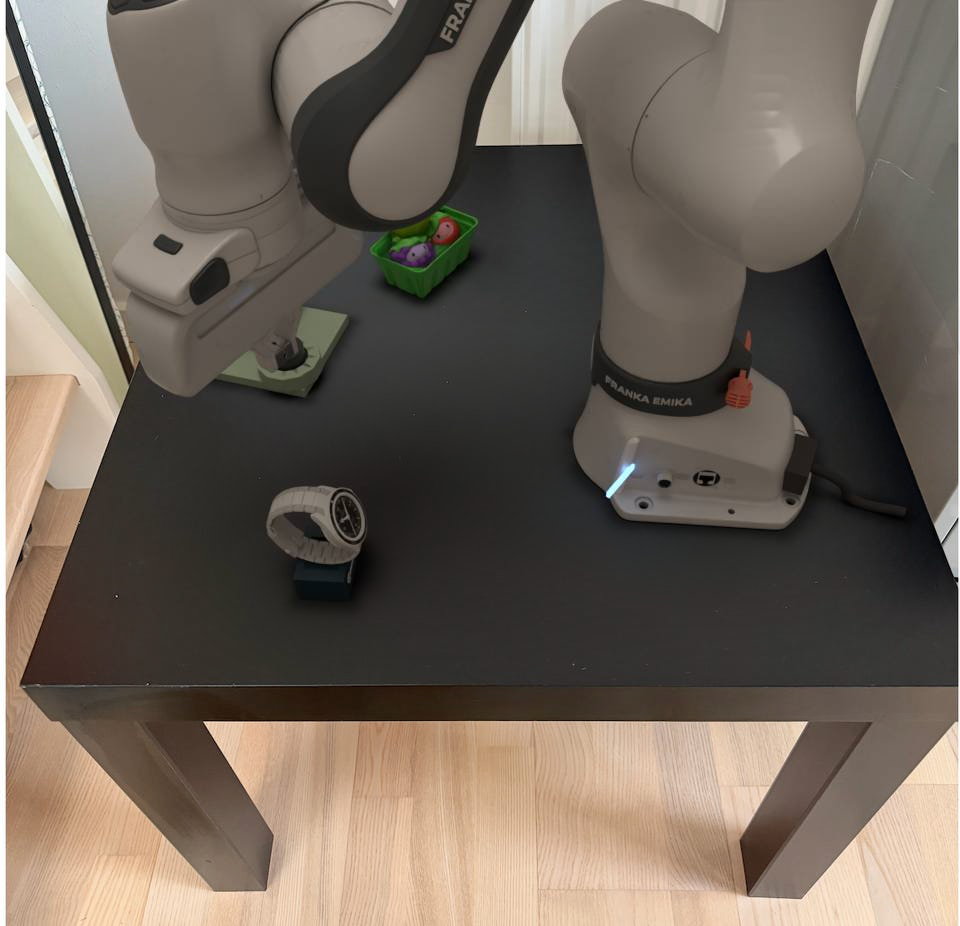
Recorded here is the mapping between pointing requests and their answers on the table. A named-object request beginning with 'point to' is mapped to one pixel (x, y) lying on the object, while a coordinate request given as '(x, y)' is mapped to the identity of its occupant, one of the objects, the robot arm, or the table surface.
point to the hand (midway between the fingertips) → (279, 359)
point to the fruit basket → (425, 250)
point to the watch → (320, 539)
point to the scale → (318, 341)
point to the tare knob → (295, 358)
